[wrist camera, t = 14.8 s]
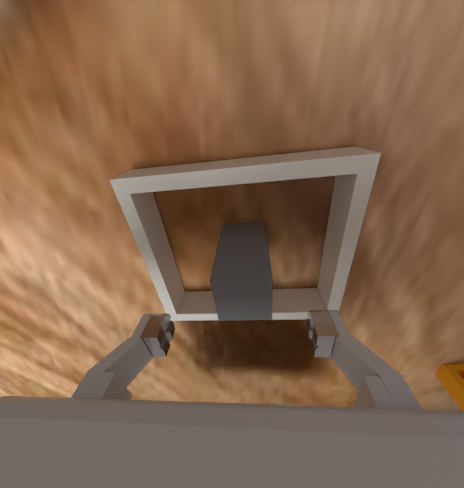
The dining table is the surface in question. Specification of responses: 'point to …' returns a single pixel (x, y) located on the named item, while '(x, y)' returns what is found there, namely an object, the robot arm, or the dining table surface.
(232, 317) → the dark grey block
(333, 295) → the frame
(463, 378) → the pipe clamp
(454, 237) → the dining table surface
